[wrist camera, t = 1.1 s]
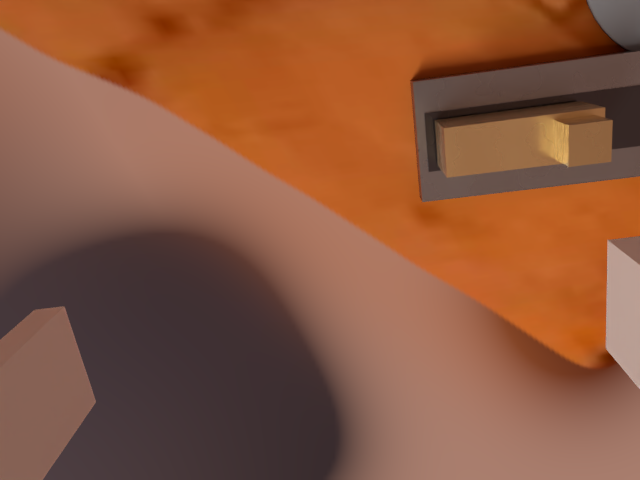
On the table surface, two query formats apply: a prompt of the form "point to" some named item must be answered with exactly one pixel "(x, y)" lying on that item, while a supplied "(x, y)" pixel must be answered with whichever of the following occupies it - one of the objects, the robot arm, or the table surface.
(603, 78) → the lock plate
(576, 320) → the table surface
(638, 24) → the coaster
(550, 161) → the brass stepped block
